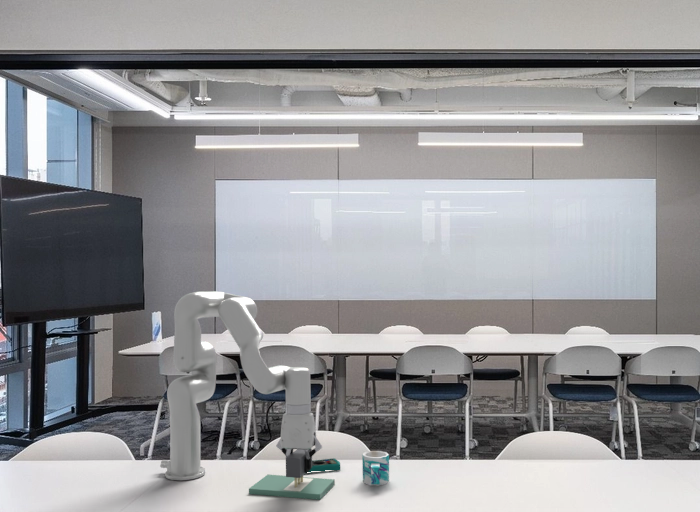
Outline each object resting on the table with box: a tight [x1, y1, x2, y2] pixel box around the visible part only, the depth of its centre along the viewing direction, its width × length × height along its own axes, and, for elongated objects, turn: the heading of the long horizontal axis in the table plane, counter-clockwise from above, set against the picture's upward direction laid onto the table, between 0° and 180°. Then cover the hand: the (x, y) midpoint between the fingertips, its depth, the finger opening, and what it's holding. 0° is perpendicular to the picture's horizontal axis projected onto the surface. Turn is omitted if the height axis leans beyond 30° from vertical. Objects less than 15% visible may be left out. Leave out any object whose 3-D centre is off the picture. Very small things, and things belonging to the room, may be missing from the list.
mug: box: [361, 450, 390, 486], centre depth 189 cm, size 8×12×8 cm
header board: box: [248, 474, 336, 501], centre depth 185 cm, size 22×14×5 cm, turn 74°
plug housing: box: [285, 449, 313, 478], centre depth 186 cm, size 4×14×6 cm, turn 164°
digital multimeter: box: [309, 457, 341, 472], centre depth 204 cm, size 7×15×3 cm, turn 105°
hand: (299, 470), depth 184 cm, fingers closed on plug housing, 4 cm apart
